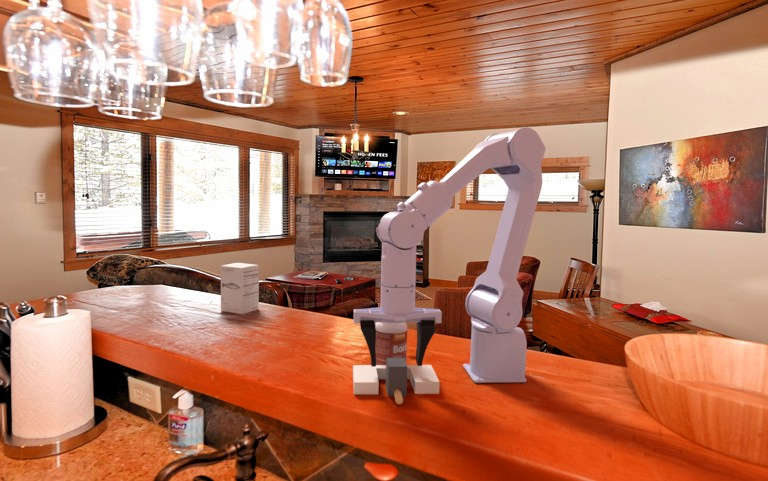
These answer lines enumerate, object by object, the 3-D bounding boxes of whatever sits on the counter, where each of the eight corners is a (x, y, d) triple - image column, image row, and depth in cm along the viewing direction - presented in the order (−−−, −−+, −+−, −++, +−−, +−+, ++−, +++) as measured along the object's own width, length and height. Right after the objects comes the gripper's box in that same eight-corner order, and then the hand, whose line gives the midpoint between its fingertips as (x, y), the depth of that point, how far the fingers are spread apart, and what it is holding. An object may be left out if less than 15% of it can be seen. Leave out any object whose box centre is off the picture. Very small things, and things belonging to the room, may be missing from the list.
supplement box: (219, 311, 122) (219, 265, 120) (238, 306, 128) (238, 261, 127) (241, 315, 119) (241, 267, 118) (259, 309, 126) (259, 264, 124)
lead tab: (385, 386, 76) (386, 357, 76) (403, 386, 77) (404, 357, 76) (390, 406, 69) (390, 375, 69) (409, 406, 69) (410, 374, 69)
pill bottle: (396, 376, 81) (398, 315, 80) (367, 368, 84) (368, 310, 83) (411, 365, 86) (413, 308, 85) (383, 359, 89) (385, 304, 88)
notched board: (430, 375, 82) (430, 364, 81) (439, 393, 74) (439, 381, 74) (352, 376, 80) (353, 365, 80) (353, 394, 73) (353, 382, 73)
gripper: (354, 289, 70) (353, 374, 71) (446, 289, 71) (443, 372, 73) (353, 280, 77) (352, 358, 78) (437, 281, 78) (435, 357, 80)
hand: (396, 364), depth 76 cm, fingers open, 7 cm apart
